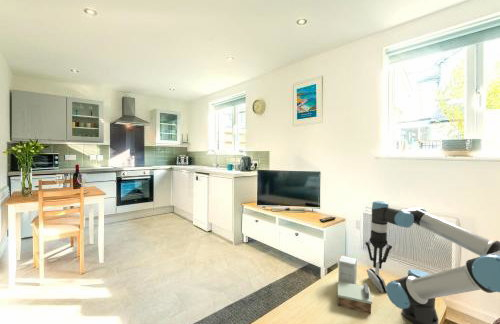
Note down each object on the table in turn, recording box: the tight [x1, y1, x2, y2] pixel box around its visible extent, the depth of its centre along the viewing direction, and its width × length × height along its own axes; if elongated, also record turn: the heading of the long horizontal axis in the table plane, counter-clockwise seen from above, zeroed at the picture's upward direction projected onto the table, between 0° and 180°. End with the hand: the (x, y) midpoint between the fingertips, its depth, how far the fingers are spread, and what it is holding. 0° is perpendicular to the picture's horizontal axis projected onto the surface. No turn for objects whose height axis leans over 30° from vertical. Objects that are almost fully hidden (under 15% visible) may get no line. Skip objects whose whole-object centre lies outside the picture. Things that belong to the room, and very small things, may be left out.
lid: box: [337, 281, 373, 305], centre depth 135 cm, size 17×15×4 cm
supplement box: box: [337, 255, 358, 285], centre depth 151 cm, size 10×9×17 cm
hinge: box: [366, 267, 387, 293], centre depth 153 cm, size 17×5×10 cm, turn 0°
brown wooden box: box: [337, 296, 372, 314], centre depth 135 cm, size 16×14×5 cm
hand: (376, 273), depth 131 cm, fingers closed
